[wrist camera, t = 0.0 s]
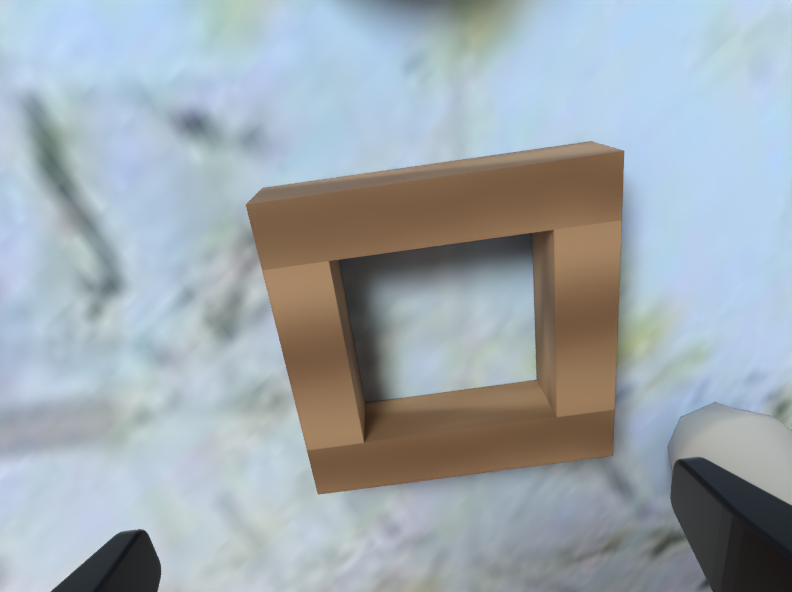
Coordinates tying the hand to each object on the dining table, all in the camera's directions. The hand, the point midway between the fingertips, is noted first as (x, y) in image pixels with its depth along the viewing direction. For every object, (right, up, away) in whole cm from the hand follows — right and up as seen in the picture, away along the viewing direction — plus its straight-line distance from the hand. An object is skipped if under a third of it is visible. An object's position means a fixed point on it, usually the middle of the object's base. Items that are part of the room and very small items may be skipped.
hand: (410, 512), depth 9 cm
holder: (+2, +3, +15) cm, 15 cm away
